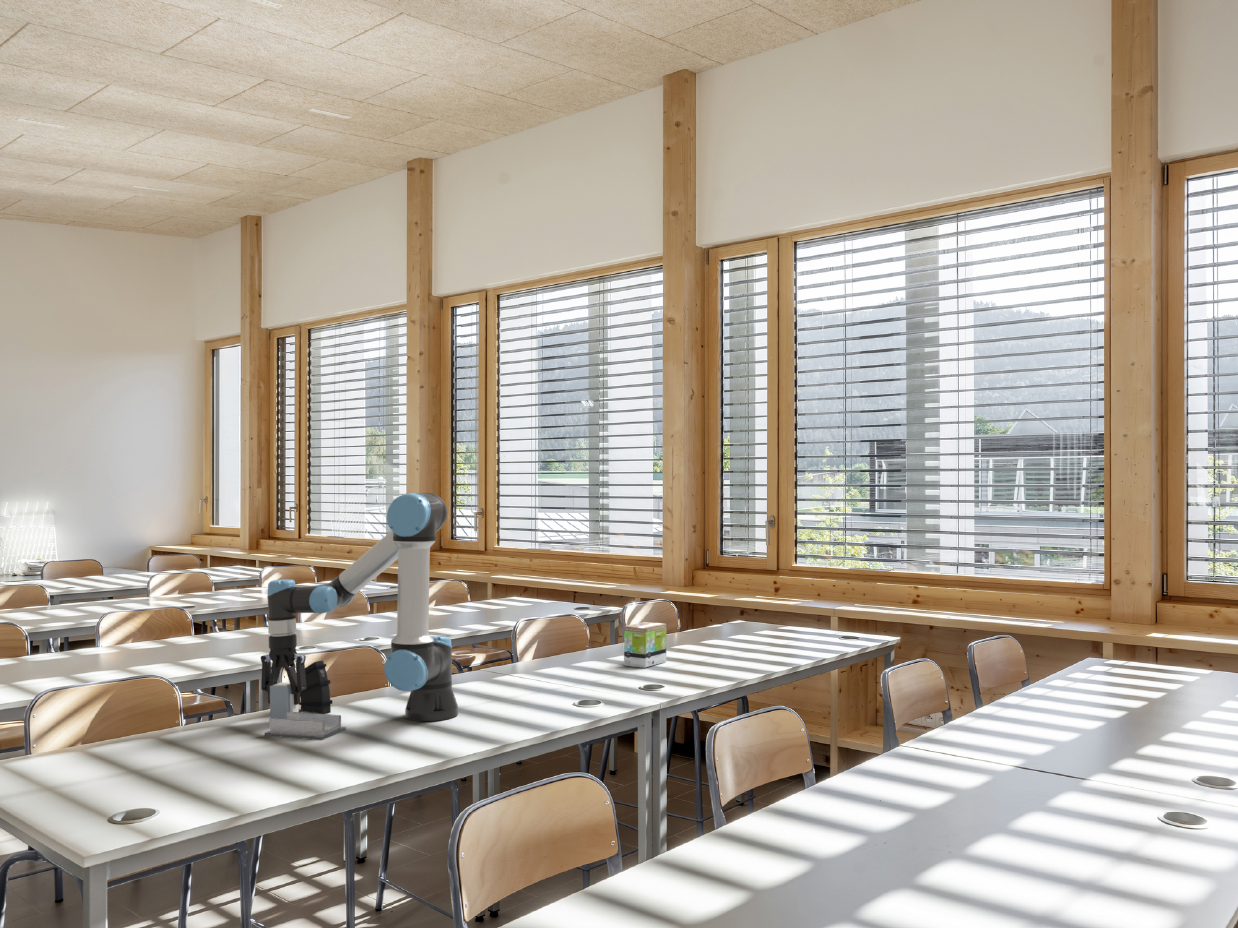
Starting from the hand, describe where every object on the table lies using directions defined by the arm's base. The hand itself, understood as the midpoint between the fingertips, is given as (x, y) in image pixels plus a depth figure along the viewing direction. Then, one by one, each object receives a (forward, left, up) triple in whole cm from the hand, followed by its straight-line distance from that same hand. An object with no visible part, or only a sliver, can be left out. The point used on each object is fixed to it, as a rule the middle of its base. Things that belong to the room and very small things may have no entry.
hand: (284, 715), depth 274 cm
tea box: (-75, -111, -2) cm, 135 cm away
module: (0, 0, 0) cm, 0 cm away
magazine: (+1, -14, -2) cm, 15 cm away
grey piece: (-13, +9, -2) cm, 16 cm away
